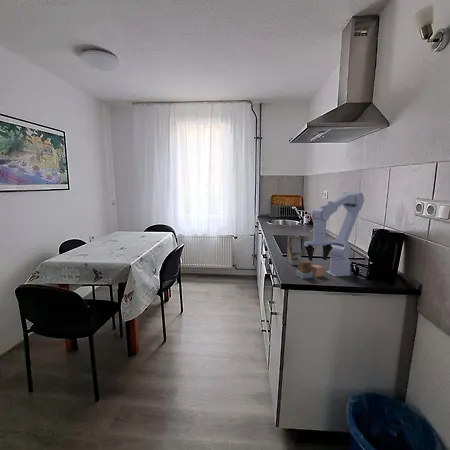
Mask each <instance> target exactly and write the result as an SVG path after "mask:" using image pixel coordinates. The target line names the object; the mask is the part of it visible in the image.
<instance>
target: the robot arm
mask: <svg viewBox="0 0 450 450" xmlns="http://www.w3.org/2000/svg"><path fill="white" fill-rule="evenodd" d="M326 202H327V203H325V204H322V205H321V206H320V207H316V208H314V209H313V210H312V213H311V218H312V222H313V229H312V231H313V232H312V240H310V241H309V240H308V241H304V243H303V246H304V247H305V251H306V253H307V257H308V260H309V262H312V261H313V260H314V259H313V258H314V251H315V247H322V260H324V261H327V259H328V257H330V258H329V259H330V261H329V270H326V271H325V273H328V274H329V275H331V276H333V277H347V276H351V274H350V271H351V270H350V269H351V261H350V259H349V256H350V255H351V247H352V246H351V244H350V243H349V242H348V241H349V238H350V236H351V233H352V231H353V229H354V226H355V223H356V220H357V217H358V215H359V213H360V211H361V210H362V207H363V205H364V202H365V197H364V194H363V192H349V191H347V192H346V191H344V192H342V193H341V194H340V196H339V197H338V198H337V199H335V200H334V201H331V200H328V201H326ZM341 206H343V208H344V210H346V211H347V212H346V215H345V216H344V219H343V222H342V224H341V227H340V230H339V232H338V235H337V237H336V238H335V239H333V240H326V235H327V223H328V221H329V219H330V217H331V216H332V215H333V214H334V213H336V212H337V211H338V209H339V207H341ZM314 246H315V247H314Z"/></svg>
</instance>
